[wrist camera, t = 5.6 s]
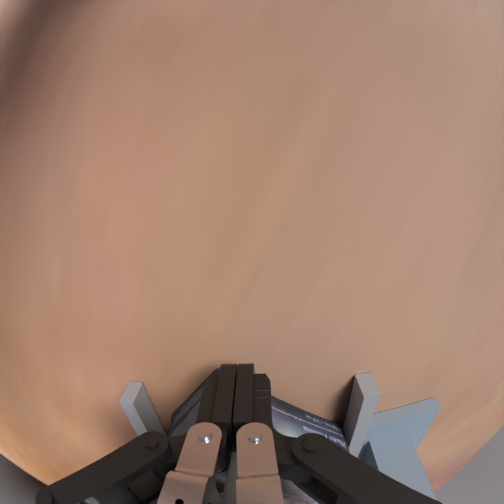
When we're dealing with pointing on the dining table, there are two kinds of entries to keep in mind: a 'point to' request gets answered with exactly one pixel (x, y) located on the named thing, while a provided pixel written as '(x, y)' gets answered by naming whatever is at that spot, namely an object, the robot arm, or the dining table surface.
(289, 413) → the small box
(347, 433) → the press
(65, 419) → the dining table surface
